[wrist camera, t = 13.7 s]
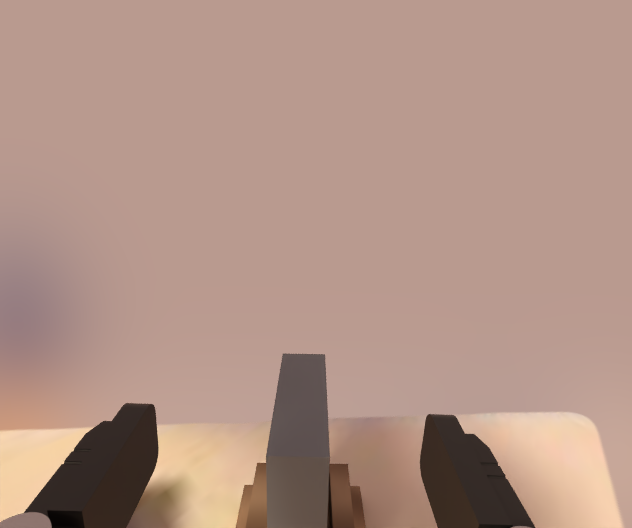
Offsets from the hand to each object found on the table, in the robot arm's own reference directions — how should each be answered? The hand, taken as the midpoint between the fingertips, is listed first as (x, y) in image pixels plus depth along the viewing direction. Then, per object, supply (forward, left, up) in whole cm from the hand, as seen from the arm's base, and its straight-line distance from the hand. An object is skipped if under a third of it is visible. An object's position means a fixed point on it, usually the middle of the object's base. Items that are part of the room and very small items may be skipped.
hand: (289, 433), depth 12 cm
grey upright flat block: (-7, +8, -20) cm, 23 cm away
